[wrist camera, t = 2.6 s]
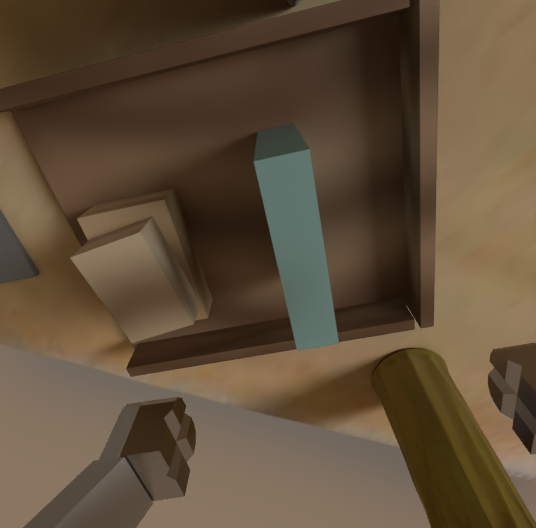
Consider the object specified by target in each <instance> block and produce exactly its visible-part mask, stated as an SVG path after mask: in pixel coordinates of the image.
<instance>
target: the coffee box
mask: <svg viewBox="0 0 536 528" xmlns="http://www.w3.org/2000/svg"><path fill="white" fill-rule="evenodd" d="M286 1H287V2H288V3H289V4H290V5H291V6H292V7H294V6H296V5H297V4H298V3H299V1H300V0H286Z"/></svg>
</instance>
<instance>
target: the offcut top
mask: <svg viewBox="0 0 536 528" xmlns="http://www.w3.org/2000/svg"><path fill="white" fill-rule="evenodd" d="M70 258H71V260H72V261H73V263H74V264H75V265H76V267H77V268H78V269H79V271H80V272H81V274H82V275H83V276H84V278H85V279H86V281H87V282H88V283H89V285H90V286H91V287H92V289H93V290H94V292H95V293H96V294H97V296H98V297H99V299H100V300H101V301H102V303H103V304H104V305H105V307H106V308H107V310H108V311H109V312H110V314H111V315H112V317H113V318H114V319H115V321H116V322H117V323H118V325H119V326H120V328H121V329H122V330H123V332H124V333H125V335H126V336H127V337H128V339H129V340H130V341H131V343H134V342H138V341H141V340H144V339H147V338H151V337H154V336H157V335H160V334H164V333H167V332H170V331H173V330H177V329H180V328H183V327H187V326H190V325H193V324H194V322H195V319H196V315H197V312H198V308H199V305H200V300H199V299H198V297H197V295H196V293H195V291H194V290H193V288H192V286H191V284H190V283H189V281H188V279H187V277H186V275H185V274H184V272H183V270H182V268H181V266H180V265H179V263H178V261H177V259H176V257H175V256H174V254H173V252H172V250H171V248H170V247H169V245H168V243H167V241H166V239H165V238H164V236H163V234H162V232H161V230H160V229H159V227H158V225H157V223H156V221H155V220H154V218H153V216H152V217H149V218H146V219H144V220H141V221H138V222H136V223H133V224H130V225H127V226H125V227H122V228H119V229H117V230H114V231H111V232H108V233H106V234H103V235H100V236H98V237H95V238H92V239H90V240H88V241H87V242H86V243H85V244H84V245H83V246H82V247H81V248H80V249H79V250H78V251H77V252H75V253H74V254H73V255H72V256H71V257H70Z"/></svg>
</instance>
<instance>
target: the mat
mask: <svg viewBox="0 0 536 528" xmlns="http://www.w3.org/2000/svg"><path fill="white" fill-rule="evenodd" d="M38 274H39V272H38V271H37V269H36V267H35V266H34V264H33V263H32V261H31V259H30V258H29V256H28V254H27V253H26V251H25V249H24V248H23V246H22V245H21V243H20V241H19V240H18V238H17V236H16V235H15V233H14V232H13V230H12V228H11V227H10V225H9V223H8V222H7V220H6V218H5V217H4V215H3V214H2V212H1V210H0V283H5V282H10V281H15V280H20V279H25V278H30V277H35V276H37V275H38Z"/></svg>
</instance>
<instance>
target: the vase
mask: <svg viewBox="0 0 536 528" xmlns="http://www.w3.org/2000/svg"><path fill="white" fill-rule="evenodd" d="M372 383H373V386H374V388H375V391H376V393H377V395H378V397H379V398H380V401H381V403H382V405H383V408H384V410H385V412H386V415H387V417H388V420H389V422H390V425H391V427H392V429H393V432H394V434H395V437H396V439H397V441H398V444H399V446H400V449H401V451H402V454H403V456H404V459H405V462H406V464H407V467H408V470H409V473H410V475H411V478H412V481H413V483H414V486H415V488H416V490H417V493H418V495H419V497H420V499H421V502H422V504H423V507H424V509H425V512H426V515H427V517H428V520H429V523H430V526H431V528H536V522H535V520H534V519H533V517H532V515H531V514H530V512H529V510H528V509H527V507H526V505H525V503H524V501H523V500H522V498H521V496H520V494H519V493H518V491H517V489H516V487H515V486H514V484H513V482H512V481H511V479H510V477H509V475H508V474H507V472H506V470H505V469H504V467H503V465H502V463H501V462H500V460H499V458H498V456H497V455H496V453H495V451H494V450H493V448H492V446H491V445H490V443H489V441H488V440H487V438H486V436H485V435H484V433H483V431H482V430H481V428H480V426H479V425H478V423H477V421H476V419H475V418H474V416H473V414H472V412H471V410H470V408H469V407H468V405H467V403H466V401H465V400H464V398H463V396H462V395H461V393H460V392H459V390H458V388H457V387H456V385H455V383H454V381H453V379H452V378H451V376H450V374H449V372H448V368H447V365H446V363H445V361H444V360H443V358H442V357H441V356H439V355H438V354H436V353H434V352H432V351H430V350H426V349H416V348H415V349H406V350H402V351H399V352H396V353H394V354H392V355H390V356H388V357H386V358H385V359H384V360H383V361H382V362H381V363H380V364H379V365H378V366H377V368H376V369H375V371H374V374H373V378H372Z"/></svg>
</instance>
